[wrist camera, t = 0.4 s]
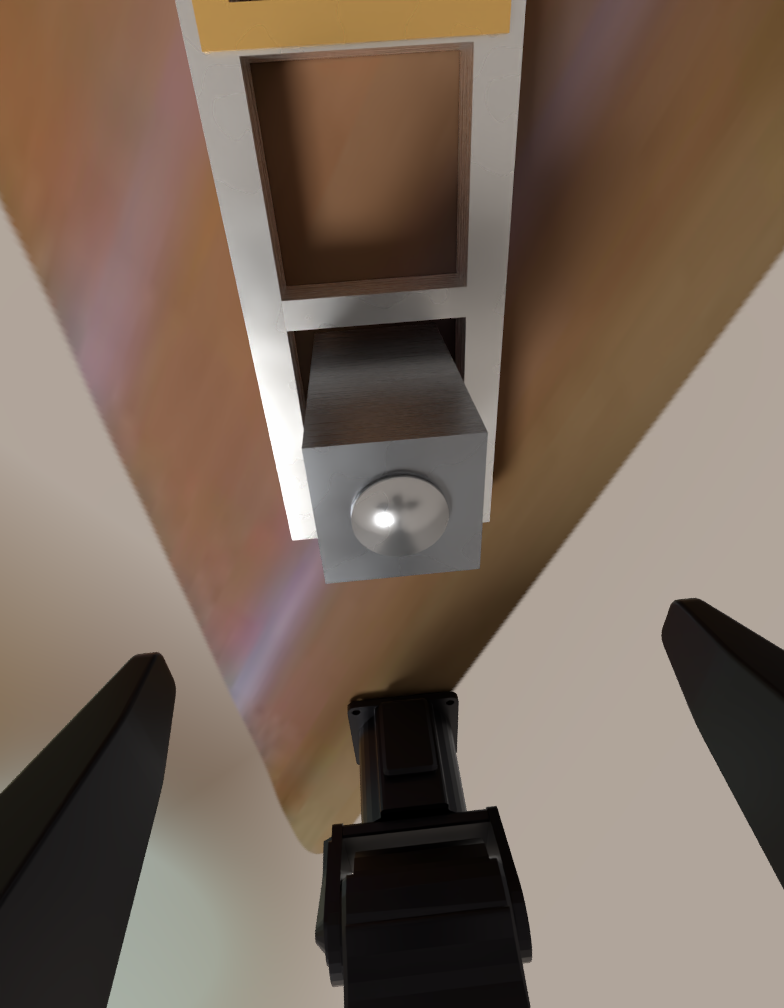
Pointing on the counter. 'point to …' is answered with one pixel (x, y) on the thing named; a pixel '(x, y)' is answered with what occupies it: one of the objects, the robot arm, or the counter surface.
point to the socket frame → (250, 214)
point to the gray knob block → (392, 455)
